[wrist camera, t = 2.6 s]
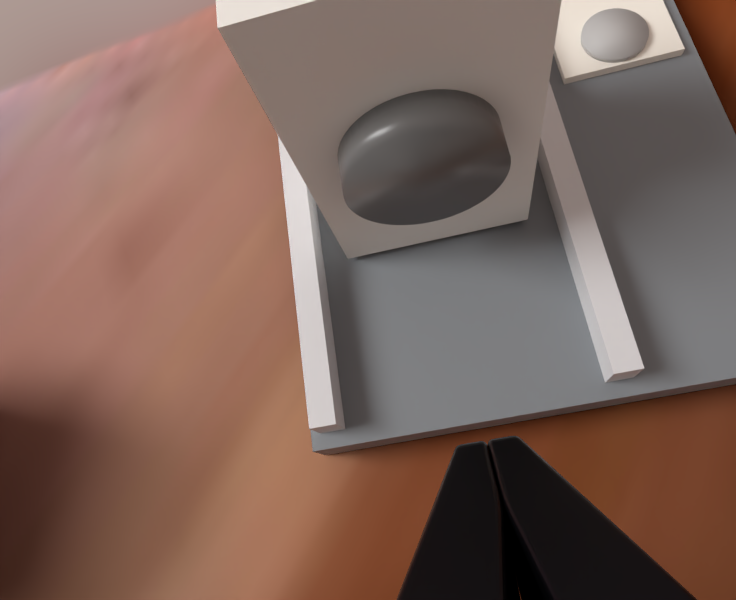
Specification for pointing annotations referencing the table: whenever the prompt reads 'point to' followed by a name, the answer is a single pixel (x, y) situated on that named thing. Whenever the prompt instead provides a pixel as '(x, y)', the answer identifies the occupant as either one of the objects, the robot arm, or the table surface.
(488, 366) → the switch board
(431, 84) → the toggle
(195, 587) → the table surface
